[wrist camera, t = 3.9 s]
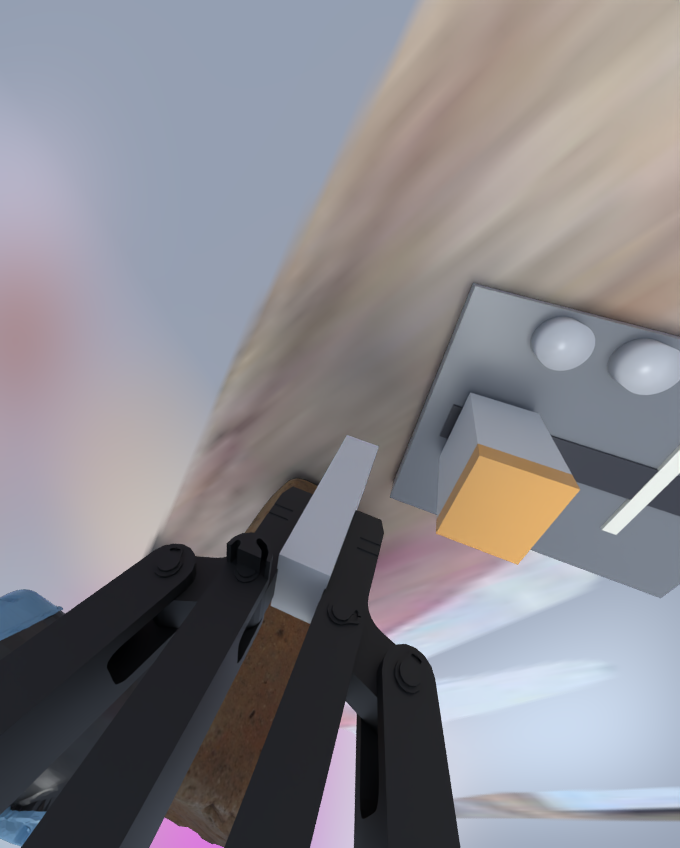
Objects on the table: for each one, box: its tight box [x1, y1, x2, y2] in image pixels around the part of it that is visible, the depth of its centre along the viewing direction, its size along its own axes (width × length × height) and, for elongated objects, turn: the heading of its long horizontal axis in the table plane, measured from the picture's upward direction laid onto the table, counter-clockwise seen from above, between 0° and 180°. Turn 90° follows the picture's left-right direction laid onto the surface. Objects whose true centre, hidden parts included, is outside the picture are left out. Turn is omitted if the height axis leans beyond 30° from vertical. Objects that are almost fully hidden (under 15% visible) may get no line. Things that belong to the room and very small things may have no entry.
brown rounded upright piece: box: [165, 479, 318, 847], centre depth 23 cm, size 11×8×20 cm
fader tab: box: [436, 392, 580, 565], centre depth 17 cm, size 4×5×7 cm
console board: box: [390, 283, 680, 598], centre depth 20 cm, size 20×16×4 cm
